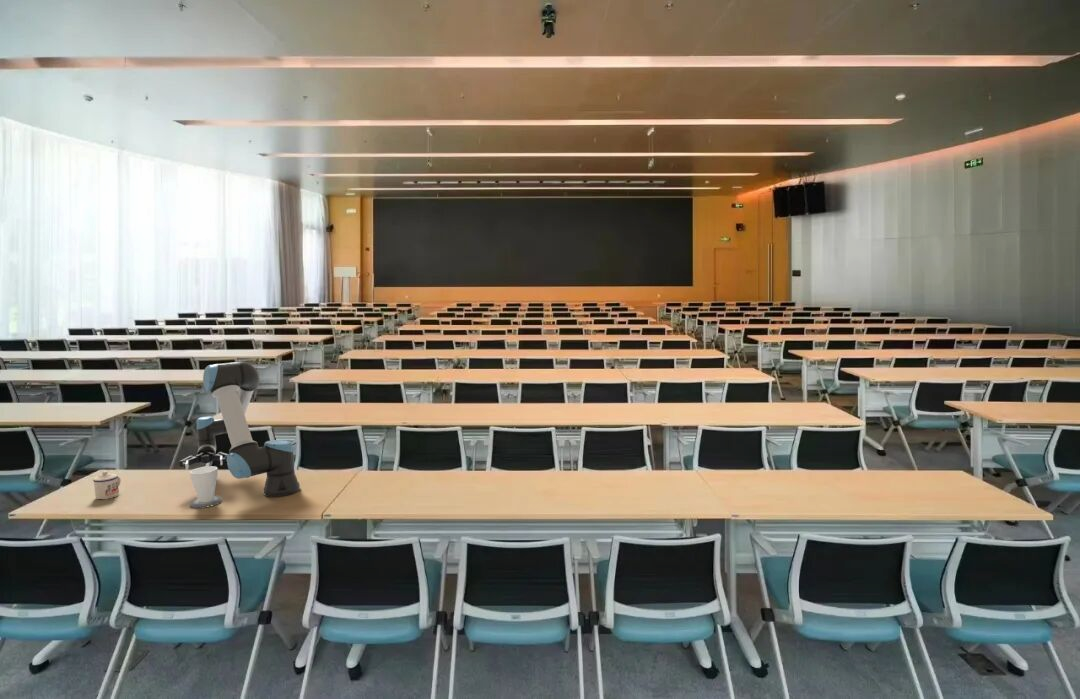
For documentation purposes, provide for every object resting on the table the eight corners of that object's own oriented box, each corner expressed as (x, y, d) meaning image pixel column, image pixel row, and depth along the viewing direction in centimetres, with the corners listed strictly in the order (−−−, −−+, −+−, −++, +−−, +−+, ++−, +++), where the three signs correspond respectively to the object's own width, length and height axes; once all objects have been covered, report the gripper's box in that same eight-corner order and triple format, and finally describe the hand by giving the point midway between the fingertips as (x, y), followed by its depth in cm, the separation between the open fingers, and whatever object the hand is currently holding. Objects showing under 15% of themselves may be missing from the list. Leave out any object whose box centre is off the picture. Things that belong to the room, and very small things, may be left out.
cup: (192, 498, 270) (189, 468, 269) (219, 494, 275) (217, 464, 274) (192, 506, 261) (189, 475, 259) (220, 501, 266) (217, 471, 265)
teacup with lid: (108, 500, 274) (105, 475, 272) (89, 499, 275) (87, 474, 274) (129, 491, 285) (127, 466, 284) (112, 490, 287) (109, 466, 285)
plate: (228, 499, 272) (227, 497, 271) (204, 509, 260) (204, 506, 260) (207, 496, 276) (207, 494, 276) (183, 506, 265) (183, 503, 264)
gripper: (236, 457, 300) (235, 468, 281) (176, 465, 290) (172, 477, 271) (234, 442, 299) (234, 452, 280) (175, 449, 289) (170, 460, 270)
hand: (204, 464), depth 275 cm, fingers open, 13 cm apart
